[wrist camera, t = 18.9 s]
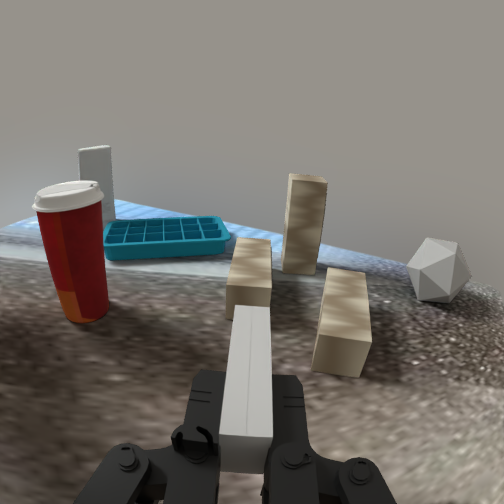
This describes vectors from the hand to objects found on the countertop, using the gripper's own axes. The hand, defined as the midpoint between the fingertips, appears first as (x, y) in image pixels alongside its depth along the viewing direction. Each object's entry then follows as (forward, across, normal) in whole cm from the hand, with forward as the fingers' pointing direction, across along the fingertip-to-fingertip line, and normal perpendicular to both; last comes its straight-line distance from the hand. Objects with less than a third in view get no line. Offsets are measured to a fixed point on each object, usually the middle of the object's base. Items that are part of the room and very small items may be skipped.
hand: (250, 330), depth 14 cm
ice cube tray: (+34, -14, -12) cm, 39 cm away
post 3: (+8, +8, -9) cm, 15 cm away
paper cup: (+15, -18, -12) cm, 26 cm away
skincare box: (+42, -30, -12) cm, 53 cm away
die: (+22, +26, -11) cm, 36 cm away
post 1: (+16, 0, -9) cm, 18 cm away
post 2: (+29, +7, -11) cm, 32 cm away
